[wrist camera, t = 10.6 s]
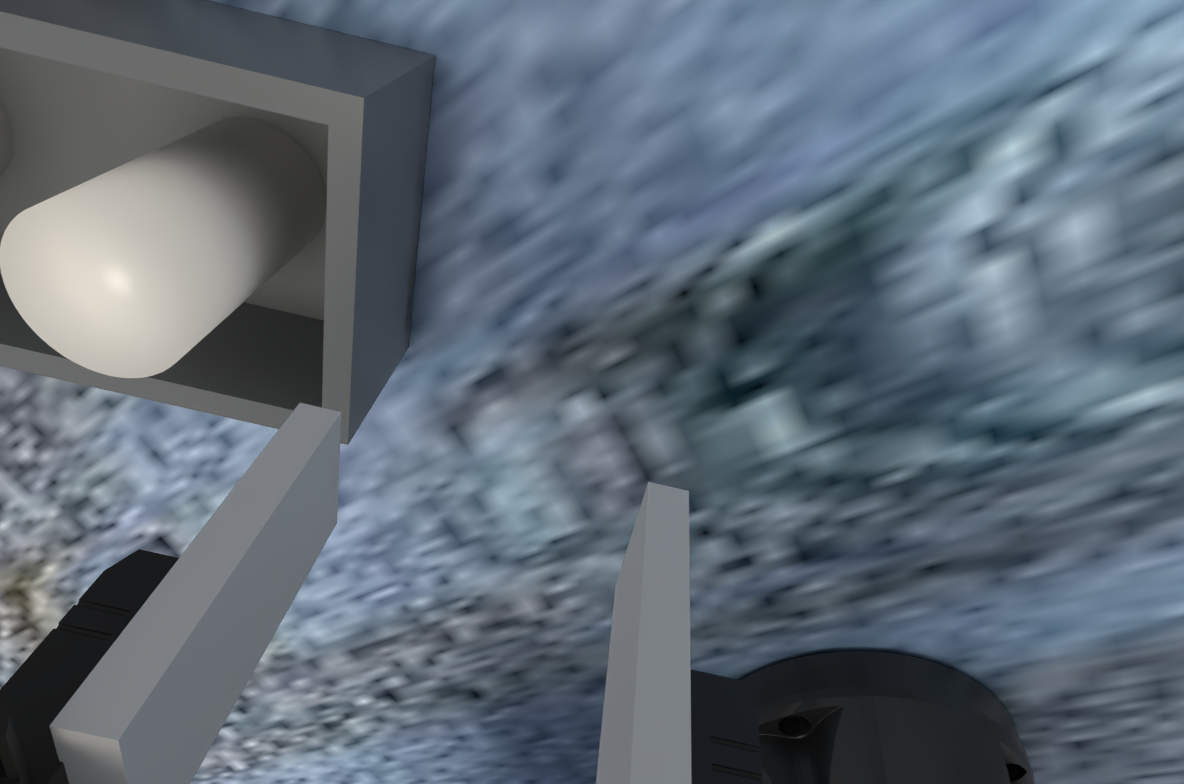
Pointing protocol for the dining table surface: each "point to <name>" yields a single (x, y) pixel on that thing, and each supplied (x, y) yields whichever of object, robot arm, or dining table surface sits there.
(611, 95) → the dining table surface
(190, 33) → the tray
